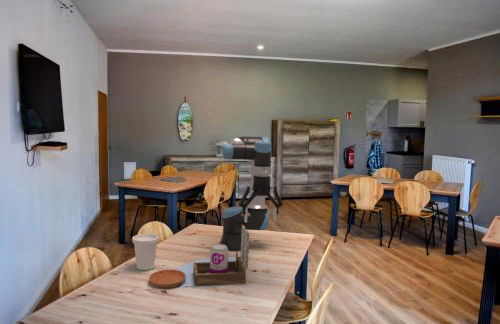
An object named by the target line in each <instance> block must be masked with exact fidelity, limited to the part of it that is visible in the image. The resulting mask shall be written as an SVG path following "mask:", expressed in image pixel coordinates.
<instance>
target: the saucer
mask: <svg viewBox="0 0 500 324" xmlns="http://www.w3.org/2000/svg"><path fill="white" fill-rule="evenodd" d="M186 277H187V275H186V273H185V272H183V271H182V270H178V269H161V270H157V271H154V272H152V273H151V274H150V275H149V277H148V280H149V282H150V284H152V285H153V286H154V287H157V288H160V289H170V288H171V289H173V288H175V287H177V286H180V285H181V284H182V283H183V282H184V281H186Z"/></svg>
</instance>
